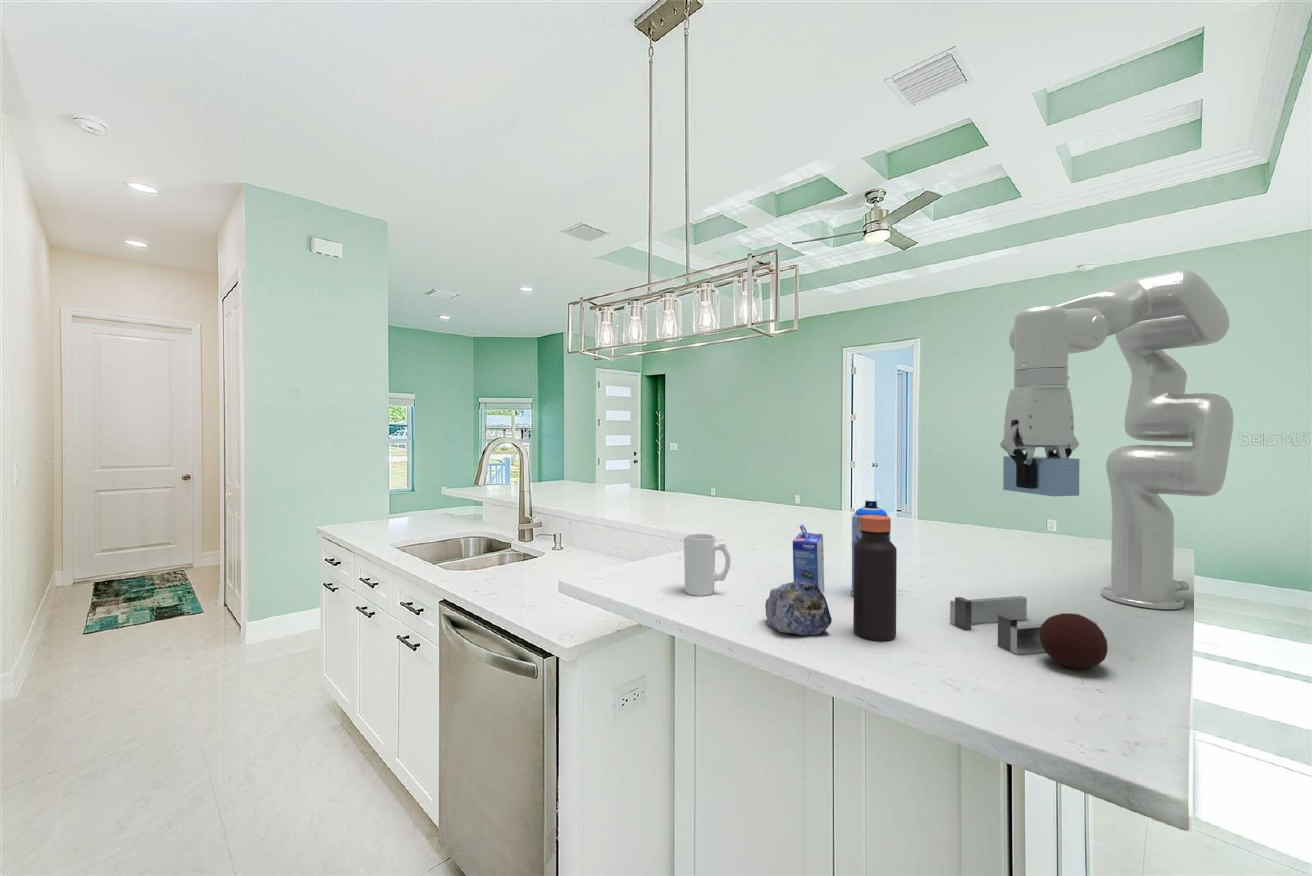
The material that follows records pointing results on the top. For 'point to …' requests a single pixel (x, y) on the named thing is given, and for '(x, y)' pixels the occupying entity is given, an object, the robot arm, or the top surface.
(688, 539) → the mug
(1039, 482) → the lock block
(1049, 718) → the top surface
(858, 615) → the bottle
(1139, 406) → the robot arm
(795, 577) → the ink cartridge box
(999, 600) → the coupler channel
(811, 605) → the rock
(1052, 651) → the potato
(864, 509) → the aerosol can
